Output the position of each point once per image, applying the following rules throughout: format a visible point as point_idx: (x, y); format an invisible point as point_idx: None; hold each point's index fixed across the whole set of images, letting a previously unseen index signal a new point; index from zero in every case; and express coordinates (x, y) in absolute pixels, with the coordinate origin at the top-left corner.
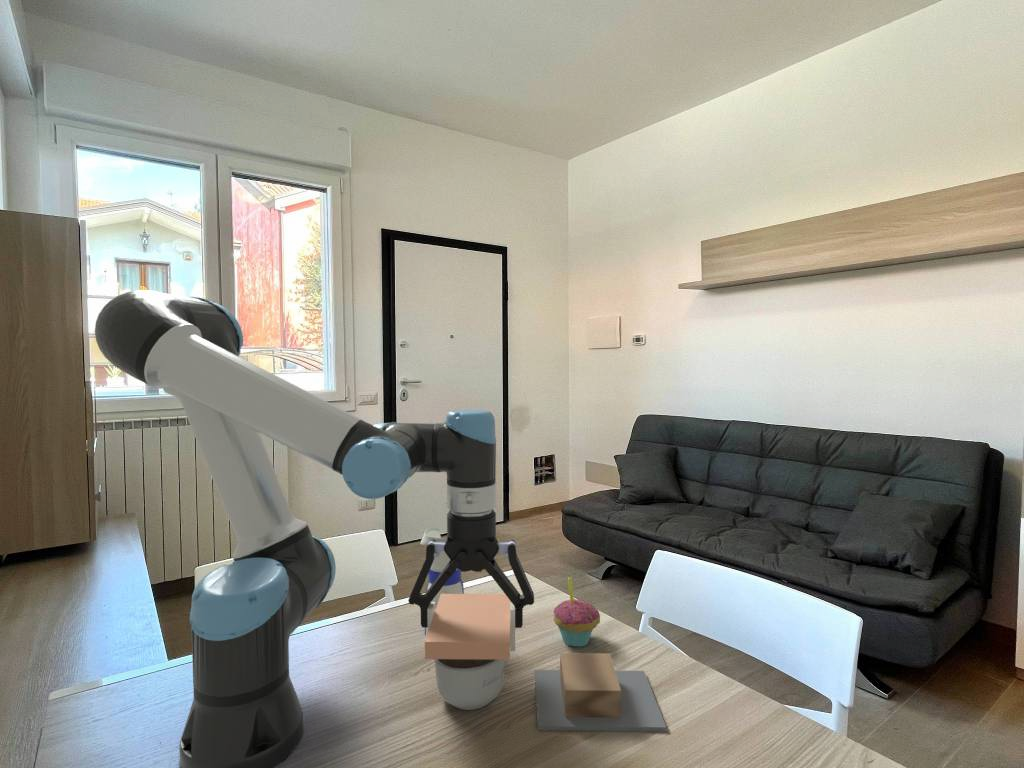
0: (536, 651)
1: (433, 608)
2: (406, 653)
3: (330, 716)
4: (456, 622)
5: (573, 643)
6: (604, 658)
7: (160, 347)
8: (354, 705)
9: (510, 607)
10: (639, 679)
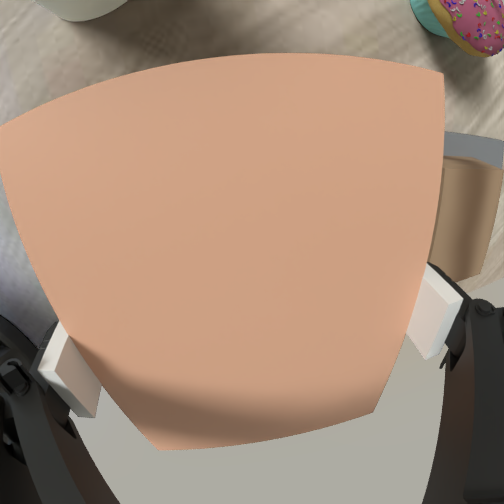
0: (361, 34)
1: (80, 390)
2: (30, 98)
3: (30, 312)
4: (202, 392)
5: (434, 32)
6: (495, 188)
7: None
8: (38, 286)
9: (432, 343)
10: (496, 163)
